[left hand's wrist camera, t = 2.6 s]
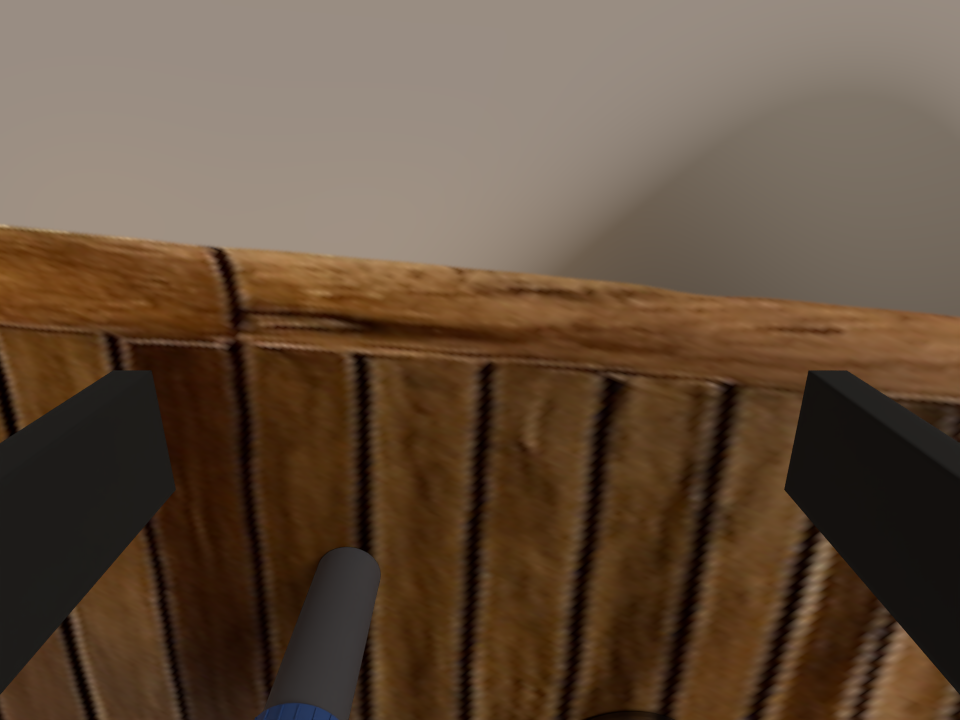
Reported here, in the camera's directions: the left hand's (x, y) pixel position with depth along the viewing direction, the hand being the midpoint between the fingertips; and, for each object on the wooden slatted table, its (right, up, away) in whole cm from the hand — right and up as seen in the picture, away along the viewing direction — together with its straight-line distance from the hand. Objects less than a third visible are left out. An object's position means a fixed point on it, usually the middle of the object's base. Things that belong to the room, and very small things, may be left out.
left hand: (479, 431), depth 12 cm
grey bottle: (-10, -15, +36) cm, 40 cm away
